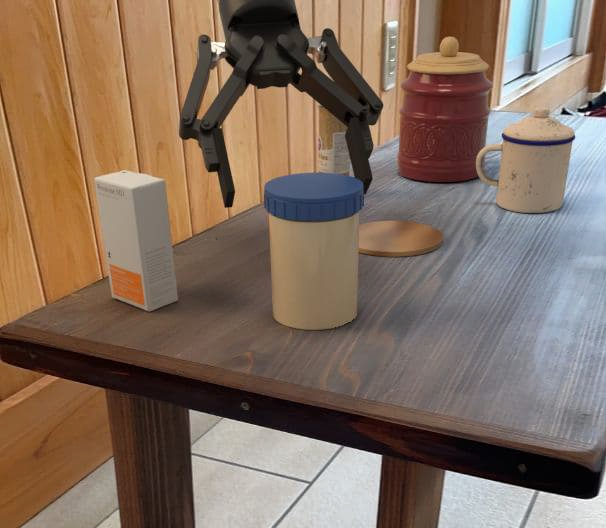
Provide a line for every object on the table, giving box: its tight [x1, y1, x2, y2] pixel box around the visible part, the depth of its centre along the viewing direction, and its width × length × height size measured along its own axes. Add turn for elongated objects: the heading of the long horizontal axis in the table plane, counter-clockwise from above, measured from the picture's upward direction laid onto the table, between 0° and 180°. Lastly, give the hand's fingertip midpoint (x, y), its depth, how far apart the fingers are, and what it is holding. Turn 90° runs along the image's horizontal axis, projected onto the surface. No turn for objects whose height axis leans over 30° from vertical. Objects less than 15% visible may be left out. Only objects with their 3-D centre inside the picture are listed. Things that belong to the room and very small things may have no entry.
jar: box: [268, 210, 361, 331], centre depth 81 cm, size 8×8×12 cm
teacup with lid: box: [476, 106, 576, 214], centre depth 110 cm, size 12×9×12 cm
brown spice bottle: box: [316, 101, 351, 176], centre depth 114 cm, size 5×5×14 cm
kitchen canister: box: [396, 36, 494, 183], centre depth 122 cm, size 13×13×18 cm
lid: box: [263, 172, 365, 221], centre depth 78 cm, size 9×9×2 cm
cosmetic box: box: [93, 169, 179, 313], centre depth 84 cm, size 6×4×12 cm
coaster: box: [359, 220, 444, 258], centre depth 102 cm, size 12×12×1 cm
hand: (299, 193), depth 82 cm, fingers open, 13 cm apart
